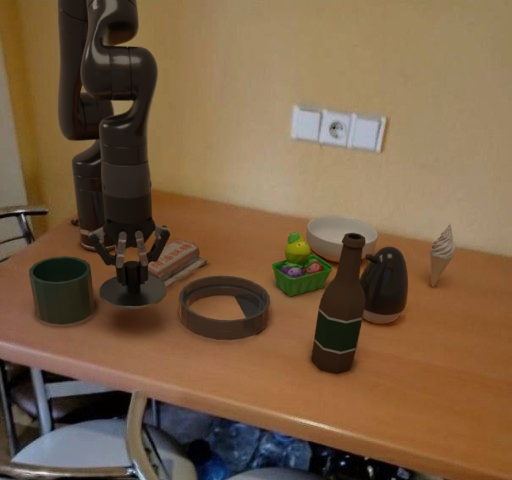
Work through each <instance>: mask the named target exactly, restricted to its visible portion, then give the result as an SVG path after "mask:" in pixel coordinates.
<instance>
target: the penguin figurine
mask: <svg viewBox="0 0 512 480" xmlns="http://www.w3.org/2000/svg"><path fill="white" fill-rule="evenodd" d="M364 259H365V260H367V261H368V262H367V263H366V266H365V268H364V269H363V271H362V273H361V274H360V284H361V286H362V288H363V290H364V293H365V298H366V301H365V309H364V314H363V319H365V320H366V321H368V322H371V323H373V324H382V325H383V324H388V323H389V324H390V323H392V322H393V321H395V320H396V319H398V318H399V316H401V314H402V313H403V312H404V310H405V309H406V307H407V304H408V298H409V296H408V295H409V274H408V273H409V272H408V267H407V262H406V259H405V256H404V254H403V252H402V250H400V249H399V248H397V247H395V246H391V245H388V246H387V245H385V246H383V247H380V248H379V249H378V250H377V251H375V252H374V254H366V256H365V258H364Z"/></svg>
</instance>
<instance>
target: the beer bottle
mask: <svg viewBox="0 0 512 480" xmlns="http://www.w3.org/2000/svg"><path fill="white" fill-rule="evenodd" d="M342 243H343V247H342V251H341V256H340V260H339V263H337V269H336V273H335V276H334V278H333V279H332V280H331V281H330V282H329V283H328V284H327V286H326V287H325V290H324V291H323V293H322V296H321V298H320V301H319V302H320V303H319V305H318V311H317V318H316V323H315V329H314V336H313V343H312V349H311V350H312V351H311V362H312V363H313V364H314V366H316V367H317V368H318V369H319V370H320V371H323V372H327V373H330V374H335V375H338V374H341V373H345V372H348V371H351V369H352V367H353V362H354V359H355V357H356V353H357V348H358V342H359V338H360V332H361V330H362V329H361V328H362V324H363V319H364V318H363V314H364V309H365V301H366V298H365V293H364V290H363V288H362V286H361V284H360V277H361V267H362V259H361V258H362V250H363V247H364V246H365V243H366V241H365V237H364V236H362V235H361V234H357V233H347V234H345V236H344V238H343V240H342Z"/></svg>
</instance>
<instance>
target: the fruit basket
mask: <svg viewBox="0 0 512 480" xmlns="http://www.w3.org/2000/svg"><path fill="white" fill-rule="evenodd" d="M286 241H287V242H286V245H285V248H284V256H285V259H284V260H280V261H277V262H273V263H271V268H272V270H273V274H274V278H275V283H276V284H275V285H276V287H277V288H280V290H281V291H282V292H284V293H285V294H287V295H288V296H289V297H293V296H296V295H300V294H304V293H307V292H311V291H315V290H319V289H323V288H324V286H325V285H326V282H327V281H328V279H329V276H330V274H331V273H332V272H333V269H334V267H333V265H331V264H329V263H328V262H327V261H325V260H323V259H322V258H321V257H319V256H318V255H317V254H313V253H311V252H312V251H311V250H312V249H311V247H310V246H309V244H308V242H307V240H305V238H304V236H303V235H302V234H300V233H298V232H296V231H293V232H291V233H289V235H288V237H287V240H286Z"/></svg>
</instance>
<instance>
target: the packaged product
mask: <svg viewBox="0 0 512 480" xmlns="http://www.w3.org/2000/svg"><path fill="white" fill-rule="evenodd" d="M199 248H200V247H199V246H198V245H197V244H196V243H195V242H192V241H189V240H186V239H182V238H176V239H173V240H172V241H170V242H167V243H166V245H165V247H164V249H163V251H162V253H161V255H160V257H159V259H158V261H156V262H150V263H149V264H148V275H150V276H153V277H156V278H158V279H160V280H161V281H162V282H163V283H164V284H165V285H166V288H167V287H169V286H171V285H172V284H175V283H176V282H178V281H179V280H181V279H183V278H184V277H187V276H188V275H189V274H191V273H192V272H194V271H195V270H197V269H199V268H200V267H202V266H203V265H205V264H207V262H208V259H206V258H204V257H201V256H199V255H200V254H201V252H200V249H199ZM135 261H137V262H138V261H140V259H139V258H138V259H136V260H135Z"/></svg>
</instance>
